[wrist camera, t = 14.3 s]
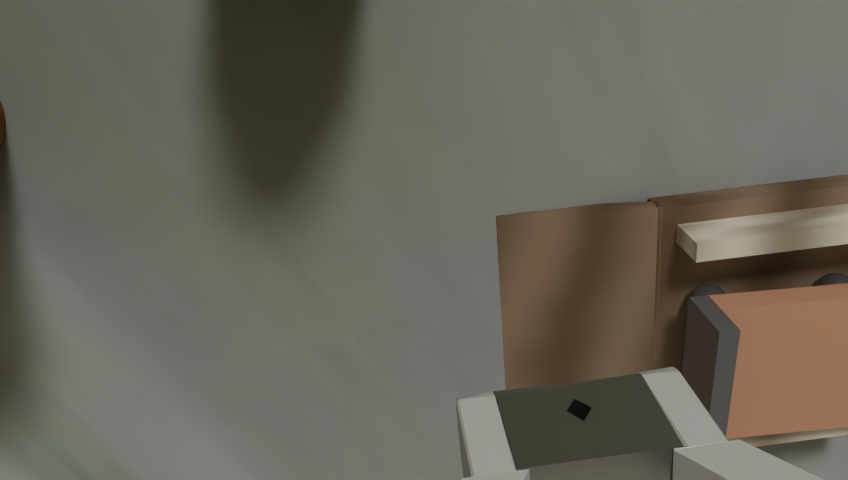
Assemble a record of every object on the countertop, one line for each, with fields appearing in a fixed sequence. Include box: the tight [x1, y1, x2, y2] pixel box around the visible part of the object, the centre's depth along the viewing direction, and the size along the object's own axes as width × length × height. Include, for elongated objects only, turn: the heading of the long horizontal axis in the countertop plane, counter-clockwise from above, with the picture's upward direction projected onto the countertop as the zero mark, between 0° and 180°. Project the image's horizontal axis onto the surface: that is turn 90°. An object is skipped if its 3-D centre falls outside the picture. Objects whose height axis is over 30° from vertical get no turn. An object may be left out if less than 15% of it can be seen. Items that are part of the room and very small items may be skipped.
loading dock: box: [496, 175, 848, 447], centre depth 42 cm, size 21×15×5 cm
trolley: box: [680, 272, 848, 439], centre depth 40 cm, size 10×8×6 cm
